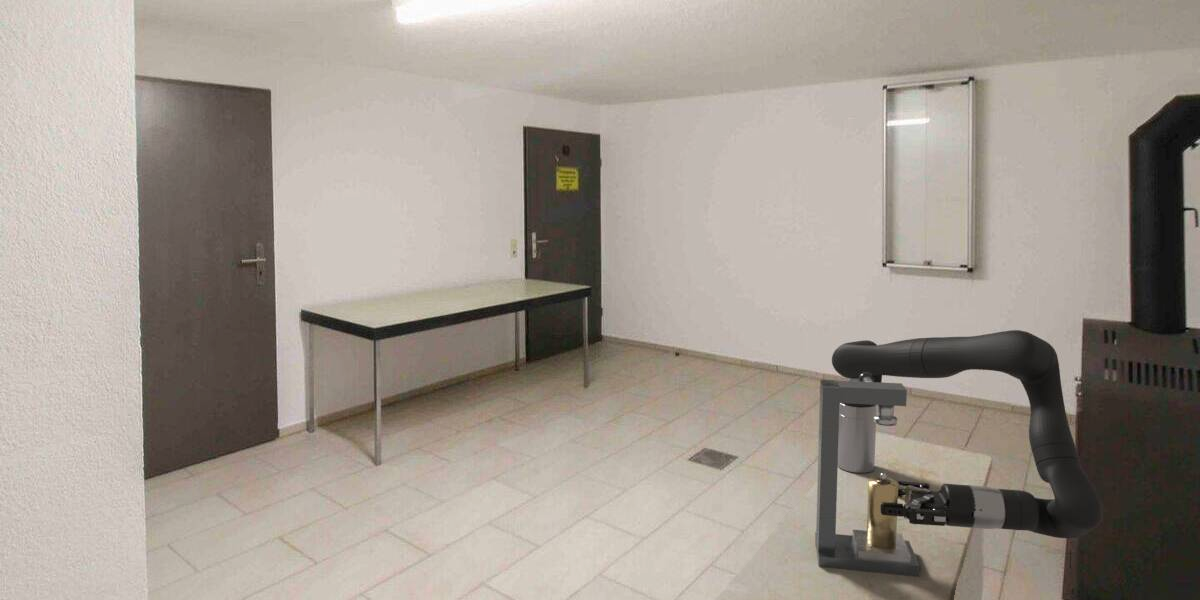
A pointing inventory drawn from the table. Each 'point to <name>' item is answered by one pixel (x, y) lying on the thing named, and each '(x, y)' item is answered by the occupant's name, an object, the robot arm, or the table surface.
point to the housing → (879, 525)
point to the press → (829, 544)
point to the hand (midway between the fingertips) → (877, 499)
